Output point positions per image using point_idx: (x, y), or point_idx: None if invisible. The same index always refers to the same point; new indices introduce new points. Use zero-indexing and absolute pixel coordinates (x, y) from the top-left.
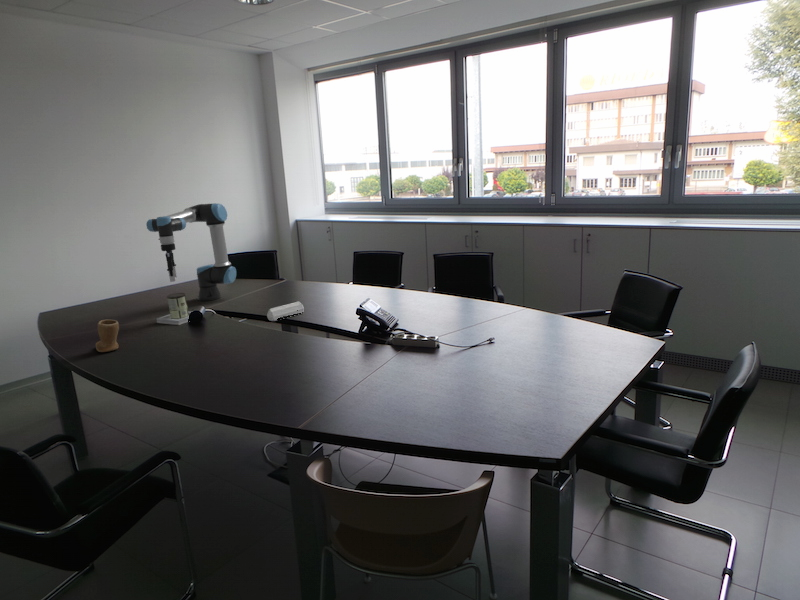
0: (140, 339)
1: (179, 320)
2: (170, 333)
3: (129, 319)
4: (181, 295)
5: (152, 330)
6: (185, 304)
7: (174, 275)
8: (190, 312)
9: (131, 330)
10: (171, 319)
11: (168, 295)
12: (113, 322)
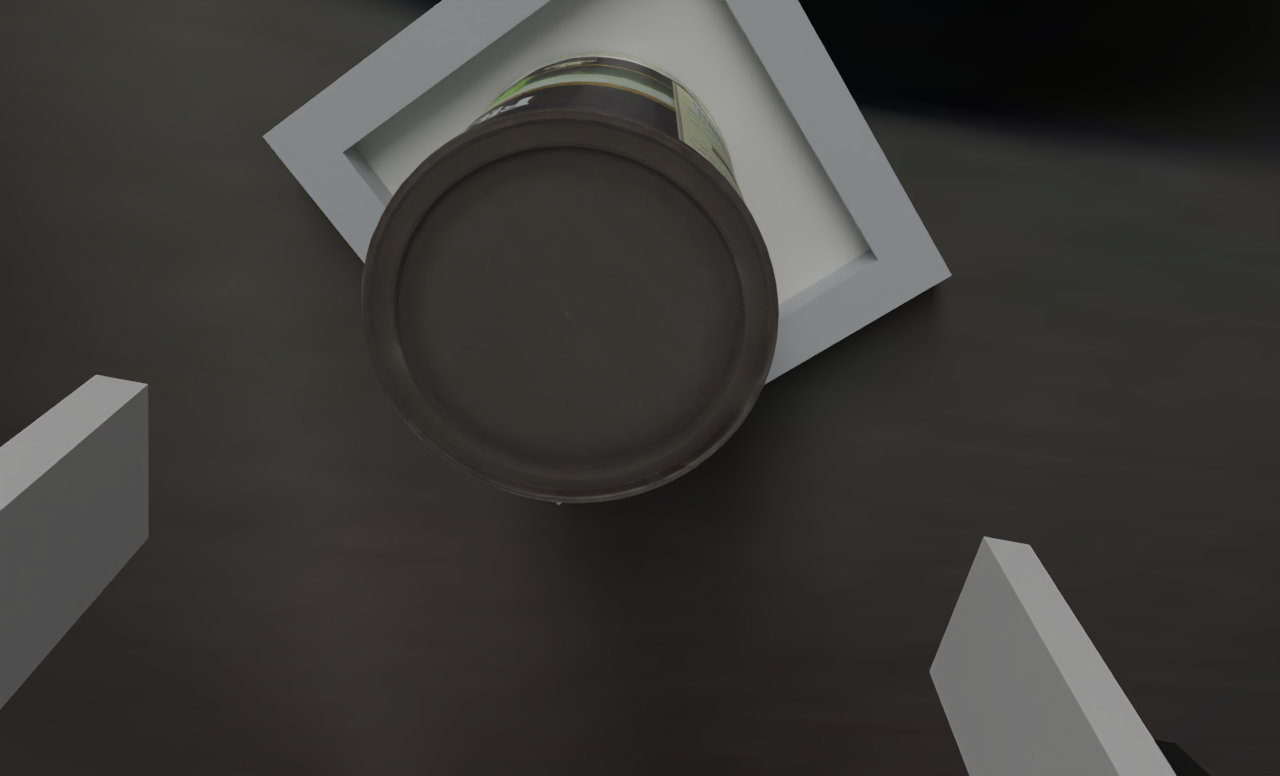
0: (1196, 692)
1: (941, 258)
2: (1265, 411)
3: (143, 707)
4: (737, 229)
5: (917, 560)
6: (693, 125)
7: (109, 483)
8: (526, 9)
9: (716, 729)
10: (777, 346)
11: (476, 462)
12: None
